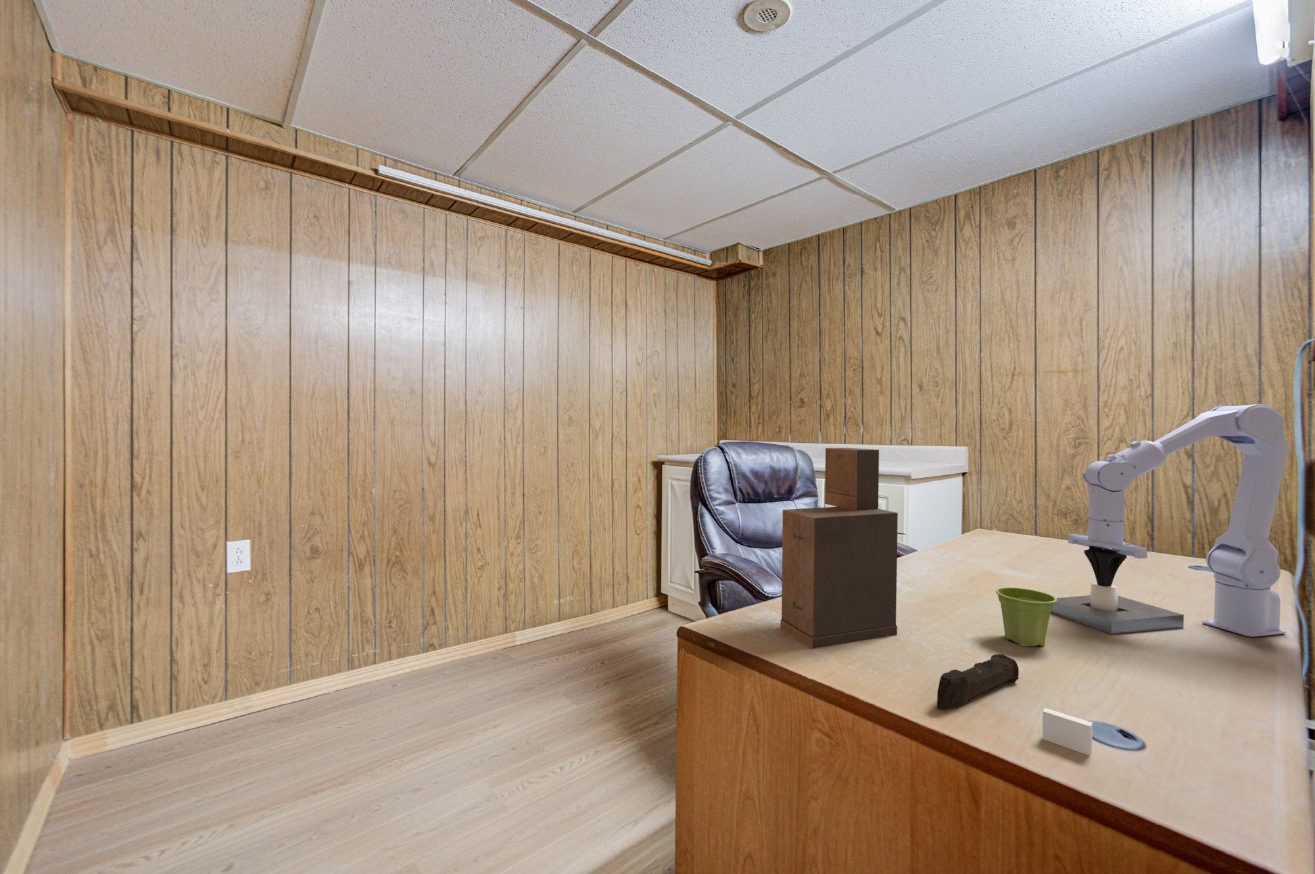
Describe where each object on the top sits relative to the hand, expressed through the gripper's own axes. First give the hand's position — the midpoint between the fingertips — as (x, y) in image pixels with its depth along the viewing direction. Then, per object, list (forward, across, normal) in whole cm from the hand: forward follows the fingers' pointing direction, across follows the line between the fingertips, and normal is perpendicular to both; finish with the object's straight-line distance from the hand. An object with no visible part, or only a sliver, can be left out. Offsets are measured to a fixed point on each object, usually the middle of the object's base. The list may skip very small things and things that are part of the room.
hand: (1104, 585), depth 113 cm
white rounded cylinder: (+7, 0, 0) cm, 7 cm away
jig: (+7, 0, +2) cm, 7 cm away
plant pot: (+7, +6, -26) cm, 28 cm away
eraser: (+7, +35, -50) cm, 61 cm away
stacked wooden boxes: (+7, -6, -57) cm, 58 cm away
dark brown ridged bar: (+8, +22, -51) cm, 56 cm away
